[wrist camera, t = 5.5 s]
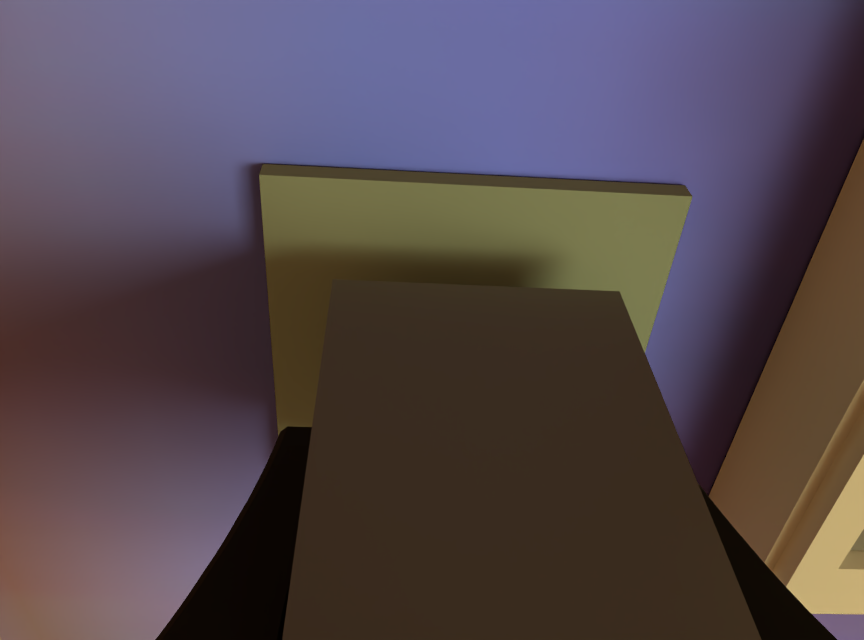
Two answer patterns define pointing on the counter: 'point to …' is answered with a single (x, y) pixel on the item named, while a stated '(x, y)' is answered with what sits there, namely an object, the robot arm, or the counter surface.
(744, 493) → the power strip
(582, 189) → the mat
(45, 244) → the counter surface
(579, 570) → the block
